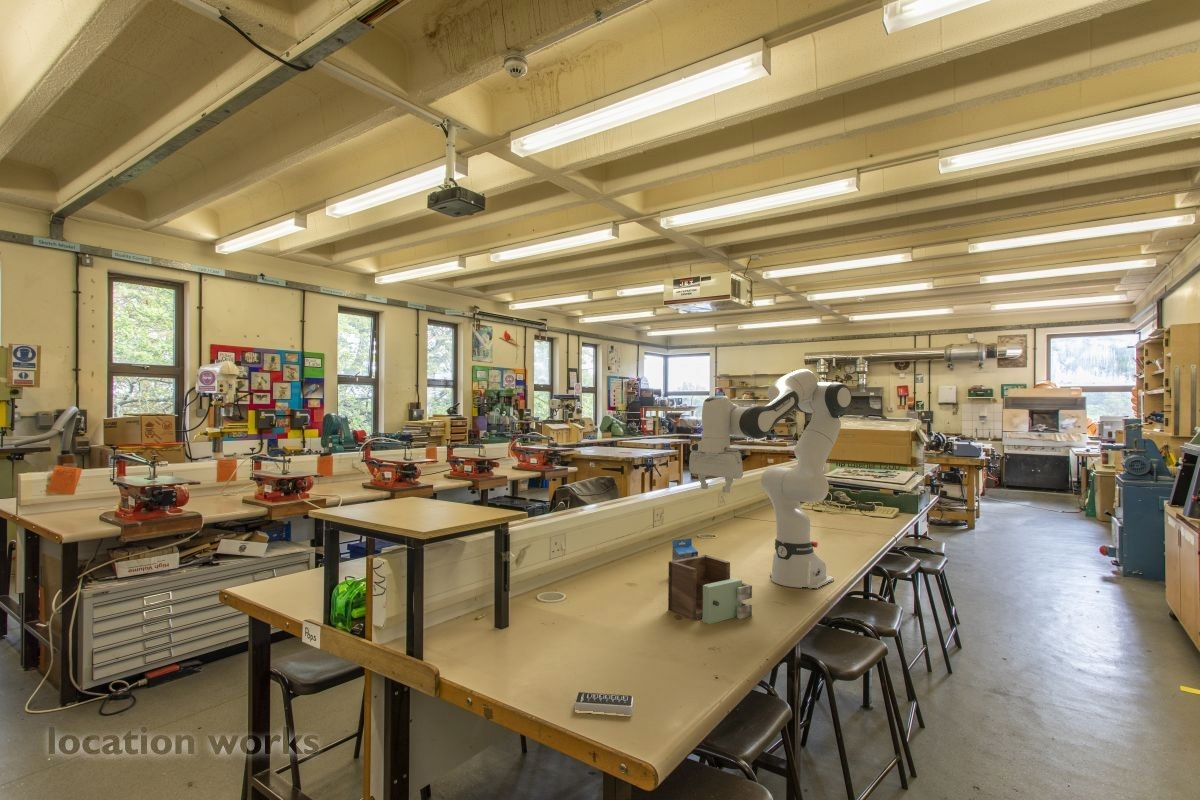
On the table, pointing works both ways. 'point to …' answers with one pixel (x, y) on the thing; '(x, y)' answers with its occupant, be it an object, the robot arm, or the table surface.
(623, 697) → the multiport hub
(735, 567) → the table surface
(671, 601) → the cabinet
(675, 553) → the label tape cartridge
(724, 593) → the door
